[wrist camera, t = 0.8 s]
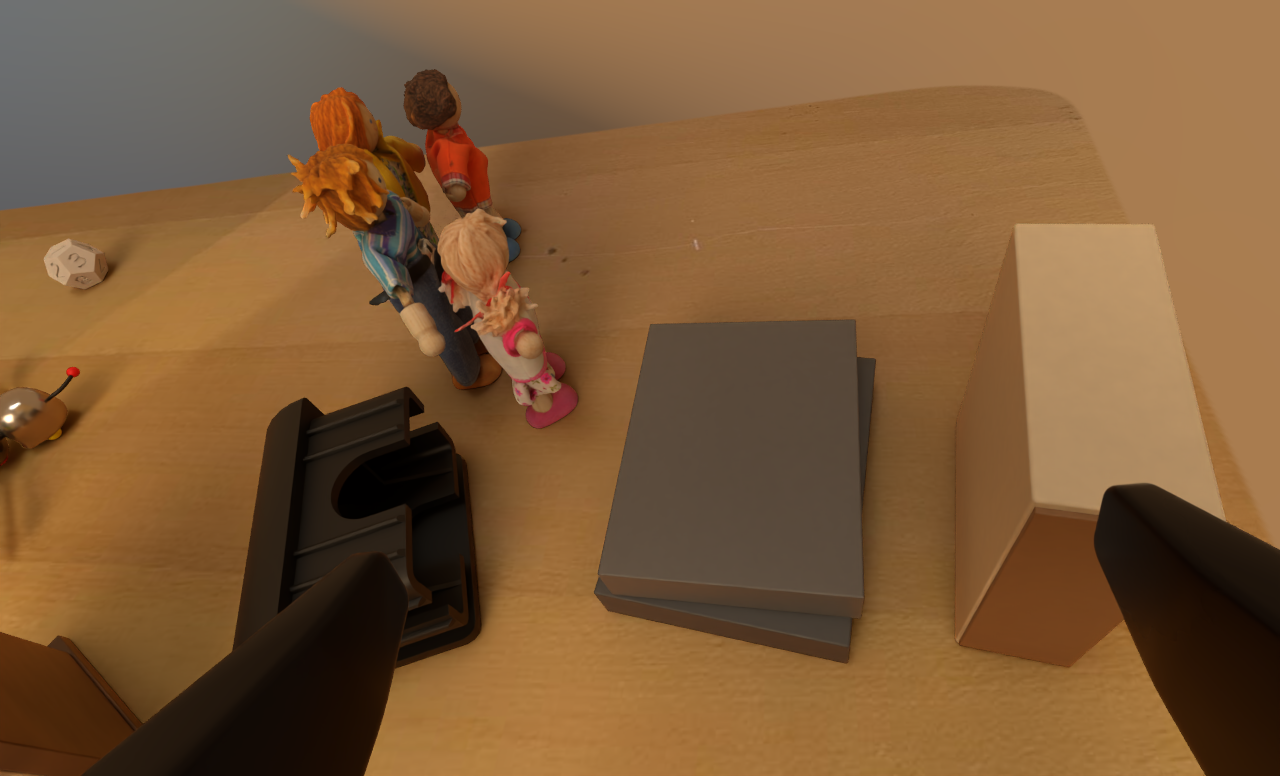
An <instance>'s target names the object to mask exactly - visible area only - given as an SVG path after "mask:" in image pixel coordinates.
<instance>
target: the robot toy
mask: <svg viewBox="0 0 1280 776" xmlns="http://www.w3.org/2000/svg"><path fill="white" fill-rule="evenodd" d="M66 373H67V375H68V376H69V377H68V378H67V379H66V381H65V382H64V383H63V384H62V386H61V387H60V388H59V389H58V390H56V391H55V392H54V393H52V394H51V395H50V394H48V393H46V392H43V391H40V390H38V389H33V388H27V387H17V388H14V389H11V390H9V391H7V392H5V393H3V394H2V395H0V466H1V465H2V464H4V463H5V462H6V461H7V459H8V453H9V445H8V441H7V439H6V437H8V438H10V439H12V440H14V441H17V442H19V443H20V444H21V445H22V446H23V447H24V448H27V449H31V448H34V447H36V446H37V445H39V444H41V443H42V442H44V441H45V440H47V439H49V440H54V439H57V438H58V437H60V435H61V433H62V431H61V429H60V428H61V427H62V425H63V424H64V422H65V420H66V418H67V412H68V410H67V407H66V405H65V404H64V402H62V401H61V400H60V399H58V398H56V397H55V396H56V395H57V394H59V393H60V392H61V391H62V390H63V389H64V388H65V387H66V386H67V385H68V384H69V382H70V381H71V380H72V378H73V377H77V376H78V375H79V374H80V370H79V369H78V368H76V367H70V368H68V369H67V371H66Z"/></svg>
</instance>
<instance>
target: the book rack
mask: <svg viewBox="0 0 1280 776" xmlns="http://www.w3.org/2000/svg"><path fill="white" fill-rule="evenodd" d="M141 725H142V724H141V723H140V721H139V720H138V719H137V718H136V717H135V716H134V714H133V713H132V712H131V711H130V710H129V709H128V707H127V706H126V705H125V704H124V703H123V701H122V700H121V699H120V698H119V697H118V696H117V694H116V693H115V692H114V691H113V690H112V689H111V687H110V686H109V685H108V684H107V683H106V682H105V680H104V679H103V678H102V677H101V676H100V675H99V673H98V672H97V671H96V670H95V669H94V668H93V666H92V665H91V664H90V663H89V662H88V660H87V659H86V658H85V657H84V656H83V655H82V653H81V652H80V651H79V650H78V649H77V648H76V646H75V645H74V644H73V643H72V642H71V641H70V639H68V638H65V637H62V636H57V637H56V638H55V639H54V640H53V641H52V642H51V643H50V644H49V645H48V646H44V645H41V644H37V643H34V642H31V641H28V640H24V639H21V638H18V637H15V636H11V635H8V634H5V633H2V632H0V776H82V774H83V773H84V772H85V771H86V770H87V769H89V768H90V767H91V766H92V765H93V764H95V763H96V762H97V761H98V760H100V759H101V758H102V757H103V756H105V755H106V754H107V753H108V752H109V751H111V750H112V749H113V748H114V747H116V746H117V745H118V744H119V743H120V742H122V741H123V740H124V739H125V738H127V737H128V736H129V735H130V734H132V733H133V732H134V731H135V730H136V729H138V728H139V727H140V726H141Z"/></svg>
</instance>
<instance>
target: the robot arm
mask: <svg viewBox="0 0 1280 776" xmlns="http://www.w3.org/2000/svg"><path fill="white" fill-rule="evenodd" d="M1094 549H1095V553H1096V556H1097V559H1098V561H1099V563H1100V566H1101V568H1102V570H1103V573H1104V575H1105V577H1106V579H1107V582H1108V584H1109V586H1110V588H1111V591H1112V593H1113V595H1114V597H1115V600H1116V602H1117V604H1118V606H1119V609H1120V611H1121V613H1122V615H1123V618H1124V620H1125V622H1126V625H1127V627H1128V629H1129V631H1130V634H1131V636H1132V638H1133V640H1134V643H1135V645H1136V647H1137V649H1138V652H1139V654H1140V656H1141V658H1142V661H1143V663H1144V665H1145V667H1146V669H1147V671H1148V674H1149V676H1150V678H1151V680H1152V682H1153V684H1154V686H1155V688H1156V690H1157V691H1158V693H1159V695H1160V697H1161V699H1162V701H1163V702H1164V704H1165V706H1166V708H1167V710H1168V711H1169V713H1170V715H1171V717H1172V718H1173V720H1174V722H1175V723H1176V725H1177V727H1178V729H1179V730H1180V732H1181V734H1182V736H1183V737H1184V739H1185V741H1186V742H1187V744H1188V746H1189V748H1190V749H1191V751H1192V753H1193V755H1194V756H1195V758H1196V760H1197V761H1198V763H1199V765H1200V767H1201V768H1202V770H1203V772H1204V774H1205V775H1206V776H1280V550H1279V549H1277V548H1275V547H1273V546H1271V545H1270V544H1268V543H1266V542H1264V541H1262V540H1260V539H1258V538H1256V537H1254V536H1252V535H1250V534H1249V533H1247V532H1245V531H1243V530H1241V529H1239V528H1237V527H1235V526H1233V525H1231V524H1229V523H1227V522H1226V521H1224V520H1222V519H1220V518H1218V517H1216V516H1214V515H1212V514H1210V513H1208V512H1206V511H1205V510H1203V509H1201V508H1199V507H1197V506H1195V505H1193V504H1191V503H1189V502H1187V501H1185V500H1184V499H1182V498H1180V497H1178V496H1176V495H1174V494H1172V493H1170V492H1168V491H1166V490H1164V489H1162V488H1161V487H1158V486H1156V485H1154V484H1150V483H1134V484H1123V485H1114V486H1111V487H1109V488H1108V489H1107V490H1106V491H1105V492H1104V495H1103V498H1102V502H1101V507H1100V511H1099V515H1098V520H1097V524H1096V529H1095V533H1094ZM408 606H409V597H408V592H407V589H406V587H405V585H404V584H403V582H402V580H401V578H400V577H399V575H398V573H397V572H396V570H395V568H394V566H393V565H392V563H391V561H390V560H389V558H388V557H387V555H385V554H384V553H383V552H379V551H374V552H363V553H356V554H353V555H351V556H349V557H348V558H347V559H345V560H344V561H343V562H342V563H340V564H339V565H338V566H337V567H336V568H334V569H333V570H332V571H331V572H329V573H328V574H327V575H326V576H324V577H323V578H322V579H321V580H320V581H318V582H317V583H316V584H315V585H313V586H312V587H311V588H310V589H308V590H307V591H306V592H305V593H304V594H302V595H301V596H300V597H299V598H297V599H296V600H295V601H294V602H293V603H291V604H290V605H289V606H288V607H286V608H285V609H284V610H283V611H281V612H280V613H279V614H278V615H277V616H275V617H274V618H273V619H272V620H270V621H269V622H268V623H267V624H265V625H264V626H263V627H262V628H261V629H259V630H258V631H257V632H256V633H254V634H253V635H252V636H251V637H249V638H248V639H247V640H246V641H245V642H243V643H242V644H241V645H240V646H238V647H237V648H236V649H235V650H234V651H232V652H231V653H230V654H229V655H227V656H226V657H225V658H224V659H222V660H221V661H220V662H219V663H218V664H216V665H215V666H214V667H213V668H211V669H210V670H209V671H208V672H206V673H205V674H204V675H203V676H202V677H200V678H199V679H198V680H197V681H195V682H194V683H193V684H192V685H191V686H189V687H188V688H187V689H186V690H184V691H183V692H182V693H181V694H179V695H178V696H177V697H176V698H175V699H173V700H172V701H171V702H170V703H168V704H167V705H166V706H165V707H163V708H162V709H161V710H160V711H159V712H157V713H156V714H155V715H154V716H152V717H151V718H150V719H149V720H148V721H146V722H145V723H144V724H143V725H141V726H140V727H139V728H138V729H136V730H135V731H134V732H133V733H132V734H130V735H129V736H128V737H127V738H125V739H124V740H123V741H122V742H120V743H119V744H118V745H117V746H116V747H114V748H113V749H112V750H111V751H109V752H108V753H107V754H106V755H105V756H103V757H102V758H101V759H100V760H98V761H97V762H96V763H95V764H93V765H92V766H91V767H90V768H89V769H87V770H86V771H85V772H84V773H83V774H82V776H364V774H365V771H366V768H367V765H368V762H369V759H370V756H371V753H372V750H373V747H374V744H375V741H376V738H377V735H378V732H379V728H380V725H381V722H382V718H383V715H384V711H385V707H386V703H387V700H388V695H389V691H390V687H391V682H392V678H393V673H394V669H395V665H396V660H397V656H398V651H399V647H400V643H401V638H402V634H403V629H404V625H405V620H406V616H407V612H408Z"/></svg>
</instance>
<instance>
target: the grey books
mask: <svg viewBox="0 0 1280 776" xmlns="http://www.w3.org/2000/svg"><path fill="white" fill-rule="evenodd" d="M875 365H876V359H874V358H861V357H857V345H856V321H855V320H812V321H768V322H724V323H679V324H651V325H650V328H649V333H648V338H647V343H646V347H645V352H644V357H643V362H642V366H641V371H640V376H639V381H638V385H637V390H636V395H635V400H634V404H633V409H632V414H631V419H630V423H629V428H628V433H627V437H626V442H625V447H624V452H623V456H622V461H621V466H620V471H619V475H618V480H617V485H616V490H615V494H614V499H613V504H612V509H611V513H610V518H609V523H608V528H607V532H606V537H605V542H604V546H603V551H602V556H601V561H600V565H599V570H598V575H599V578H598V581H597V584H596V588H595V591H594V594H595V595H596V596H597V598H598V599H599V600H600V601H601V603H602V604H603V605H604V606H605V608H606V609H607V610H608V611H612V612H616V613H621V614H625V615H630V616H634V617H639V618H643V619H648V620H652V621H657V622H661V623H666V624H670V625H675V626H680V627H684V628H689V629H693V630H698V631H702V632H707V633H711V634H716V635H720V636H725V637H729V638H734V639H738V640H743V641H747V642H752V643H756V644H761V645H765V646H770V647H775V648H779V649H784V650H788V651H793V652H797V653H802V654H806V655H811V656H815V657H820V658H824V659H829V660H833V661H838V662H842V663H848V659H849V650H850V640H851V629H852V618H861V616H862V609H863V602H864V572H863V540H862V508H863V497H864V486H865V475H866V464H867V453H868V442H869V431H870V420H871V409H872V398H873V387H874V376H875Z"/></svg>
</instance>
